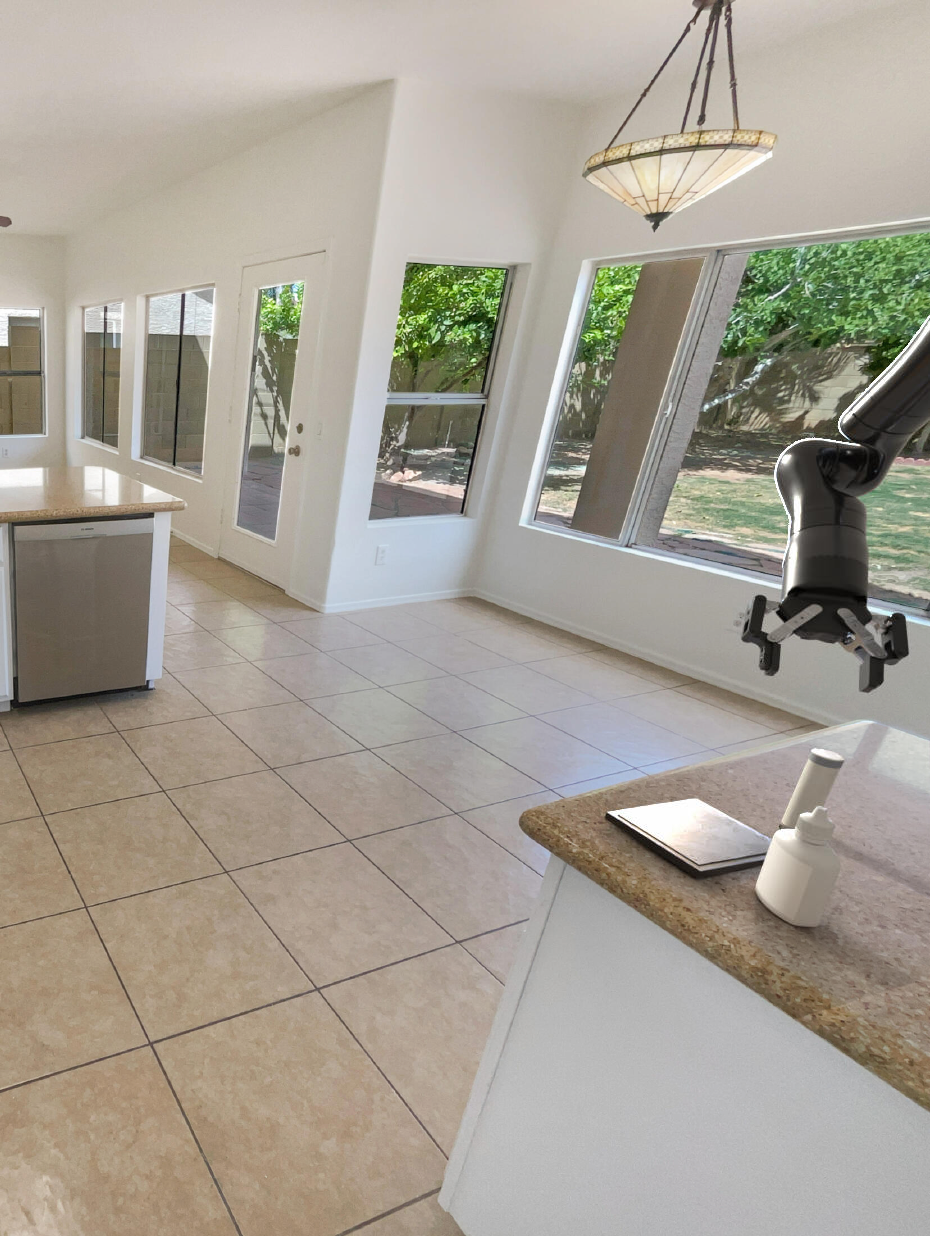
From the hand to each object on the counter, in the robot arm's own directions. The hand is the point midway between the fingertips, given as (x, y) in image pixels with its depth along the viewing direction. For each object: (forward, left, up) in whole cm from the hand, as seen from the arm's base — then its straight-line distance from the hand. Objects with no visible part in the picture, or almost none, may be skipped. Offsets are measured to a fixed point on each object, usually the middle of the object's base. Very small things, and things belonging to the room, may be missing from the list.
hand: (818, 681), depth 84 cm
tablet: (+19, +5, -16) cm, 26 cm away
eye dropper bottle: (+22, +16, -16) cm, 32 cm away
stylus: (+7, +7, -16) cm, 19 cm away
